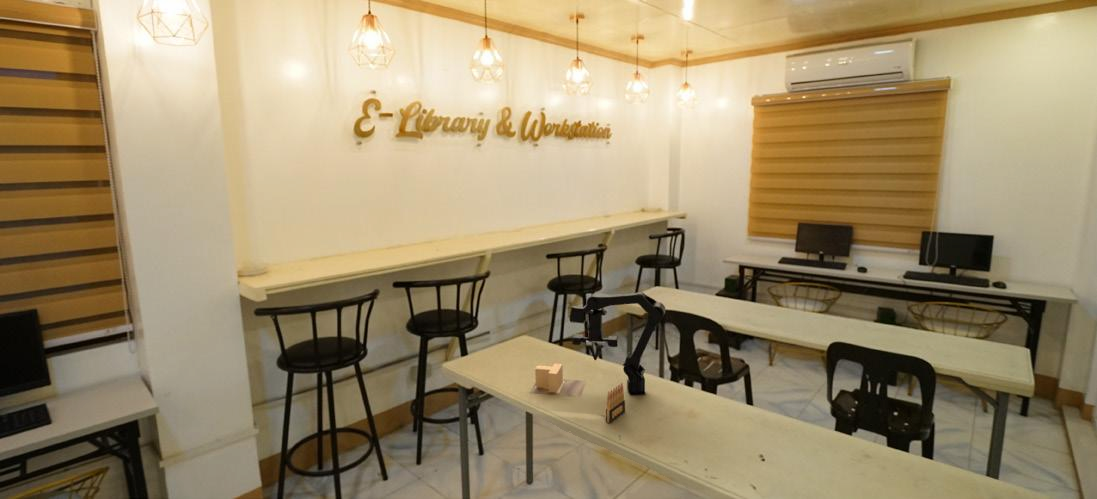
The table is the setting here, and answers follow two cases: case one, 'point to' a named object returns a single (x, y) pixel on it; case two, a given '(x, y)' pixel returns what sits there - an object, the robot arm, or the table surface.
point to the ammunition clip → (615, 404)
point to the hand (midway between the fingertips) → (595, 359)
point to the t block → (549, 377)
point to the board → (563, 388)
